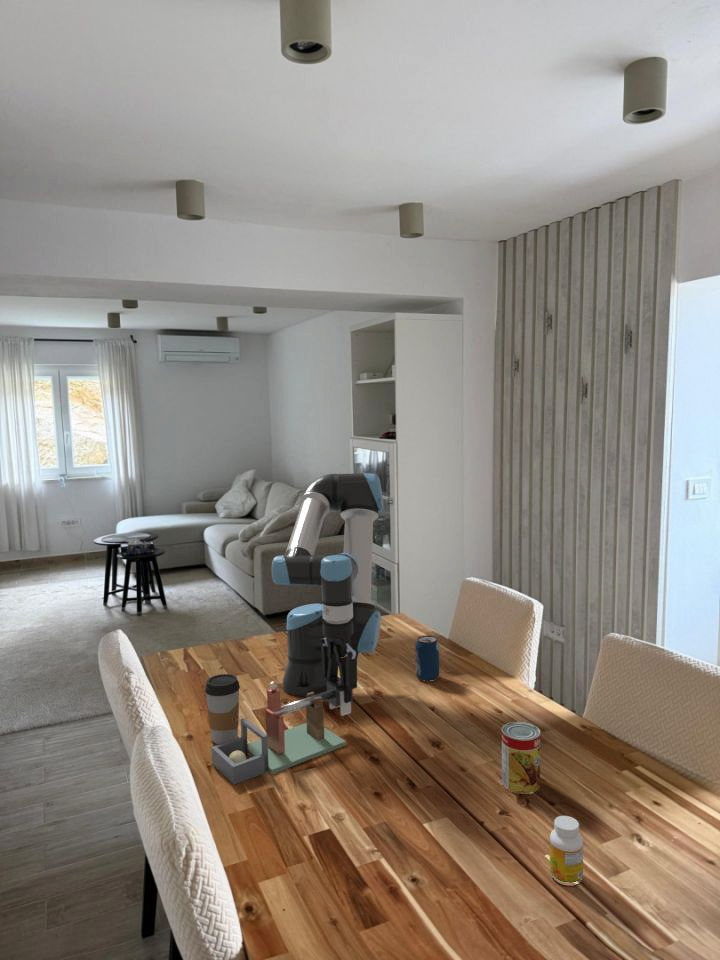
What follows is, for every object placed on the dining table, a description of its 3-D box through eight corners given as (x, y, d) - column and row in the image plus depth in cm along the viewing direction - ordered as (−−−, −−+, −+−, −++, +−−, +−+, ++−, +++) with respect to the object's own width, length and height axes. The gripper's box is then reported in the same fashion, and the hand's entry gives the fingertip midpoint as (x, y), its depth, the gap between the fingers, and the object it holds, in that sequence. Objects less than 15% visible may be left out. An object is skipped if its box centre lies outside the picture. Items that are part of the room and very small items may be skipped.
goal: (245, 751, 158) (244, 718, 157) (268, 771, 149) (267, 735, 148) (212, 763, 153) (210, 729, 152) (234, 784, 144) (232, 748, 143)
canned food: (546, 792, 138) (546, 737, 137) (510, 797, 137) (510, 741, 136) (530, 772, 146) (530, 719, 145) (496, 776, 145) (496, 723, 144)
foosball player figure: (313, 734, 165) (311, 691, 164) (324, 742, 162) (323, 697, 160) (307, 736, 164) (305, 693, 163) (318, 744, 160) (316, 700, 159)
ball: (224, 767, 151) (241, 762, 153) (232, 774, 148) (249, 769, 150) (225, 750, 151) (241, 745, 153) (233, 757, 147) (249, 752, 150)
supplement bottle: (544, 866, 116) (545, 814, 115) (575, 864, 117) (575, 811, 116) (556, 888, 111) (557, 833, 110) (588, 886, 111) (588, 831, 110)
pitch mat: (313, 724, 171) (313, 720, 171) (345, 745, 160) (345, 741, 160) (242, 749, 159) (242, 745, 159) (272, 774, 148) (272, 769, 148)
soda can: (443, 676, 199) (442, 637, 198) (433, 684, 194) (432, 644, 192) (422, 671, 203) (421, 633, 202) (411, 679, 197) (411, 640, 196)
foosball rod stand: (341, 717, 171) (340, 656, 169) (355, 726, 166) (354, 663, 165) (265, 745, 158) (262, 678, 156) (278, 755, 153) (275, 687, 151)
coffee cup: (234, 748, 159) (231, 688, 158) (201, 745, 161) (198, 685, 160) (247, 731, 168) (244, 674, 166) (215, 729, 169) (213, 672, 168)
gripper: (306, 614, 169) (309, 703, 171) (345, 631, 155) (348, 727, 158) (330, 608, 173) (333, 695, 176) (371, 624, 160) (373, 718, 162)
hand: (340, 710), depth 167 cm, fingers closed on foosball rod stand, 4 cm apart
